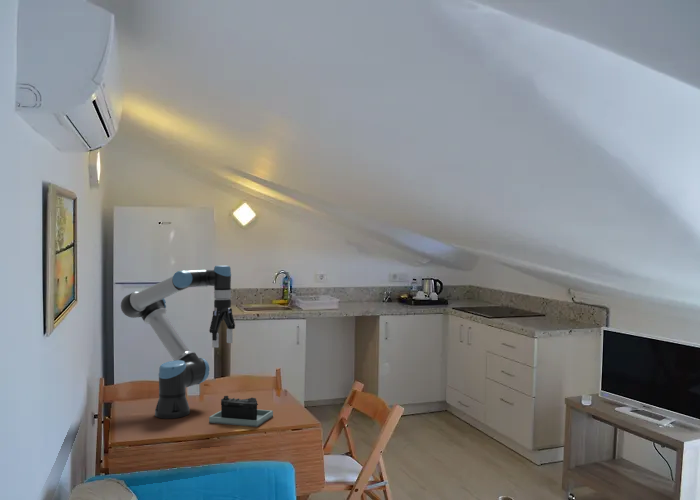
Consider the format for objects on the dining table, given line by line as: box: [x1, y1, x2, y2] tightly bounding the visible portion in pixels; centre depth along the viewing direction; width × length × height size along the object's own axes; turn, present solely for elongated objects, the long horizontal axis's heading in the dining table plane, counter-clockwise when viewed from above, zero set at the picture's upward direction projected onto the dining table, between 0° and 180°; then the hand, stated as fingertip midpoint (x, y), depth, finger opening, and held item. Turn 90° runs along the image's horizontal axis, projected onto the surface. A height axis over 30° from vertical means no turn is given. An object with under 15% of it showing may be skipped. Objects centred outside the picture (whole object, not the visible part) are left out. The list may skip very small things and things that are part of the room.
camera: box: [220, 395, 259, 420], centre depth 259 cm, size 18×9×10 cm, turn 74°
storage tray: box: [208, 408, 274, 428], centre depth 259 cm, size 23×17×2 cm
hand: (222, 345), depth 272 cm, fingers open, 13 cm apart
